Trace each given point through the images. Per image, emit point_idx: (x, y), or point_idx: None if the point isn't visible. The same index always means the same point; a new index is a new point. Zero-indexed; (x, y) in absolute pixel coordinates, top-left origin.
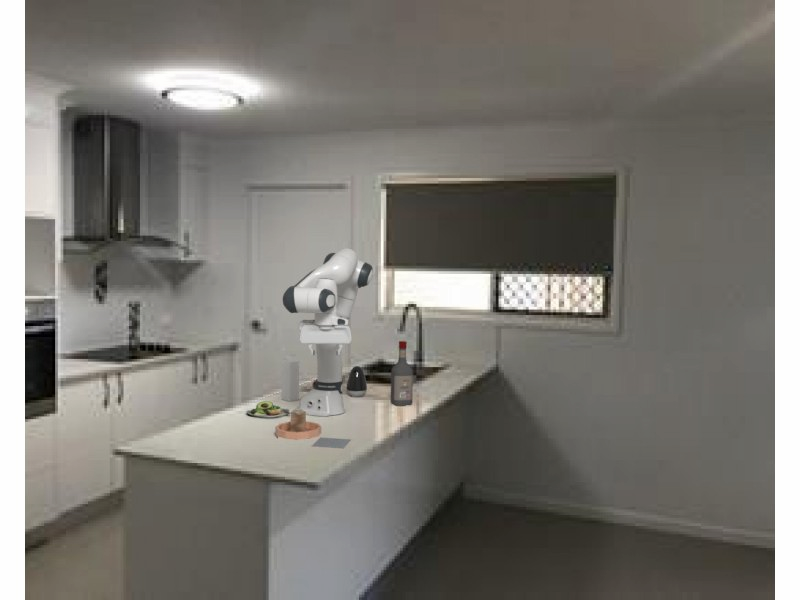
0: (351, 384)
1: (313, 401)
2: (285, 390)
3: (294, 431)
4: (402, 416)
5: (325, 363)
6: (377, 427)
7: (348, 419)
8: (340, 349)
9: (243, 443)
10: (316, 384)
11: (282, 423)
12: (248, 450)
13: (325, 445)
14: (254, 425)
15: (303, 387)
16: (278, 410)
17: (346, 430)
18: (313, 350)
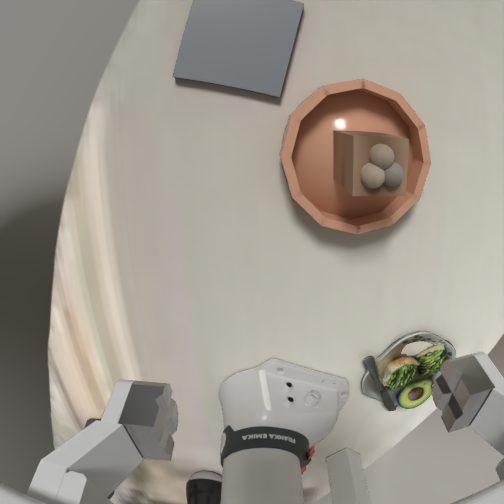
0: (215, 491)
1: (306, 402)
2: (357, 467)
3: (371, 132)
4: (75, 351)
5: (278, 501)
6: (109, 253)
7: (202, 335)
8: (81, 435)
9: (482, 94)
10: (302, 447)
11: (410, 204)
12: (463, 29)
13: (257, 8)
14: (456, 269)
15: (308, 500)
16: (394, 366)
17: (196, 217)
18: (470, 419)
